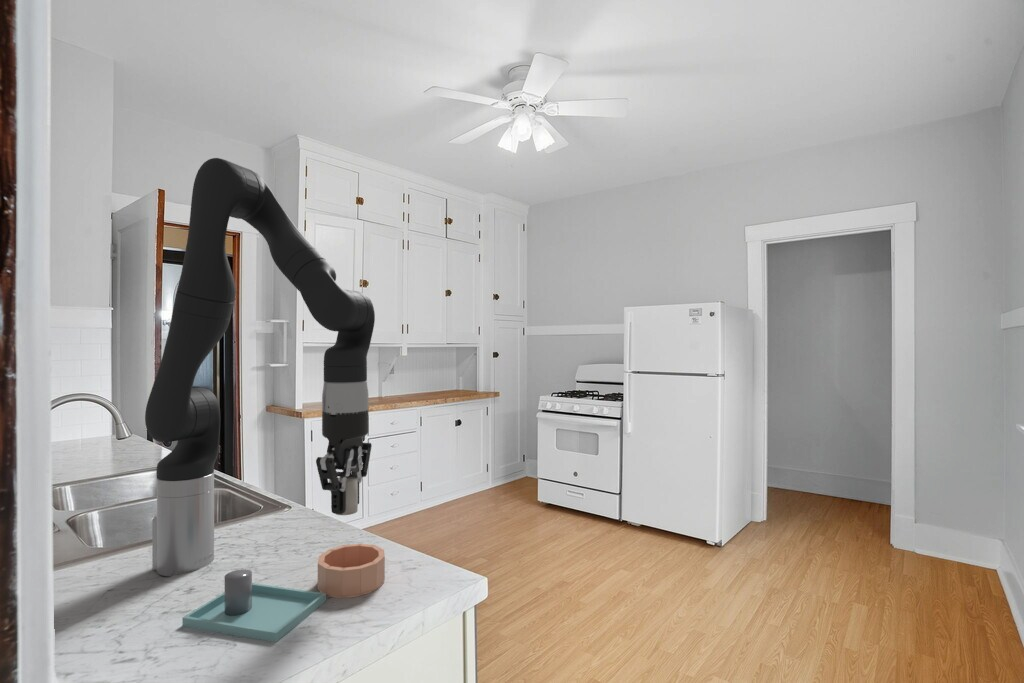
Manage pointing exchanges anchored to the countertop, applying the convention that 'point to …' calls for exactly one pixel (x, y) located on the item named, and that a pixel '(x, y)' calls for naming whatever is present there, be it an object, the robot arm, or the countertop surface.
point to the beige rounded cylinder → (351, 495)
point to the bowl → (351, 570)
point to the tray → (258, 613)
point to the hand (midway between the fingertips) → (345, 508)
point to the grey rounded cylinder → (238, 592)
